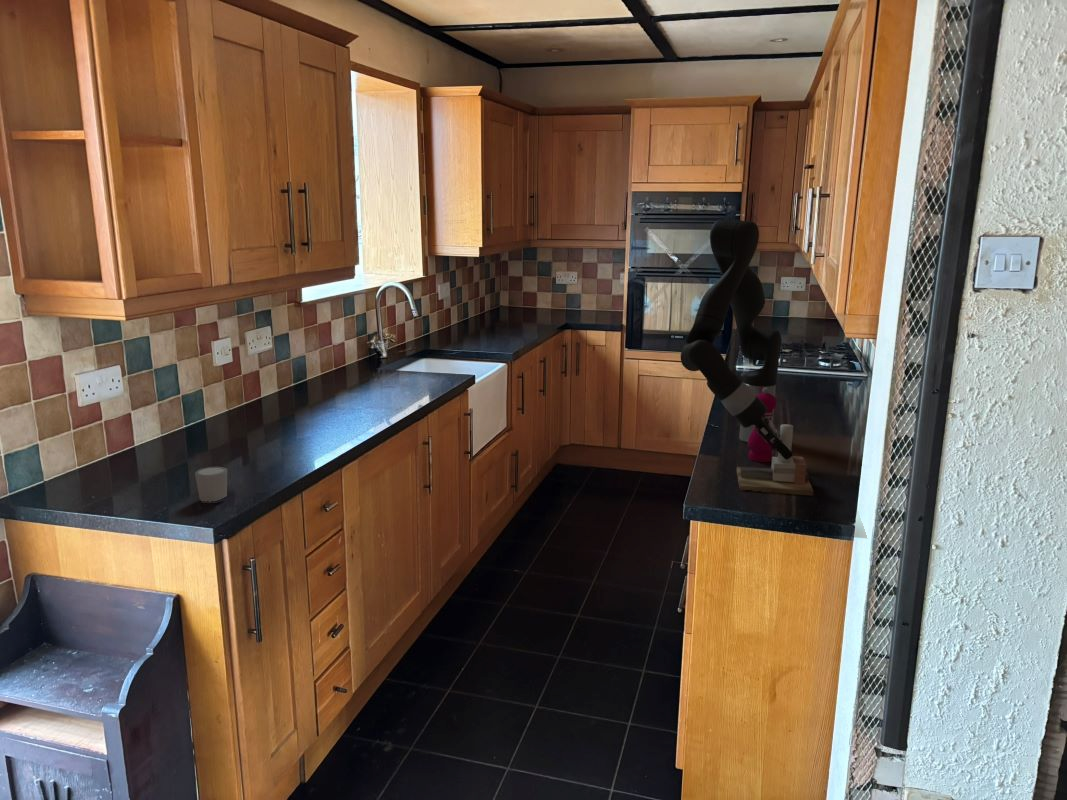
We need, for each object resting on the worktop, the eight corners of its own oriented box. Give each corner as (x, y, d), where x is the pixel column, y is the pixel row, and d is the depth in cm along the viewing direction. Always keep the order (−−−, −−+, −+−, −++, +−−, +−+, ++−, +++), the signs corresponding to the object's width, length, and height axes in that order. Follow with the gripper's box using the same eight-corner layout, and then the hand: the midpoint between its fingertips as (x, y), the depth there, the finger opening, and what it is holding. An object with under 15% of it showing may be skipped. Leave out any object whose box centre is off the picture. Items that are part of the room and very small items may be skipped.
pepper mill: (769, 454, 219) (774, 384, 214) (777, 462, 211) (784, 390, 207) (743, 454, 218) (748, 384, 214) (751, 462, 211) (757, 390, 207)
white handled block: (770, 473, 198) (775, 422, 195) (791, 474, 197) (796, 423, 194) (772, 480, 192) (777, 428, 189) (794, 482, 192) (799, 429, 188)
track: (736, 470, 204) (738, 448, 203) (804, 475, 201) (806, 452, 200) (739, 490, 190) (741, 465, 188) (813, 495, 187) (815, 470, 185)
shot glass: (211, 493, 183) (208, 464, 182) (236, 496, 181) (233, 467, 180) (190, 503, 177) (187, 473, 175) (216, 506, 175) (213, 477, 173)
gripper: (757, 400, 185) (804, 450, 185) (753, 388, 198) (796, 434, 199) (733, 421, 187) (778, 470, 187) (730, 407, 200) (772, 453, 201)
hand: (787, 452), depth 193 cm, fingers open, 8 cm apart
